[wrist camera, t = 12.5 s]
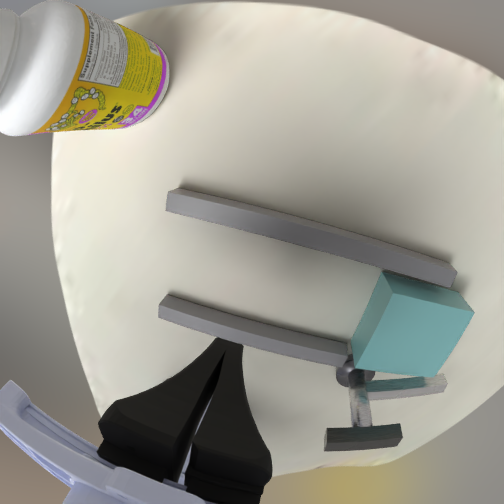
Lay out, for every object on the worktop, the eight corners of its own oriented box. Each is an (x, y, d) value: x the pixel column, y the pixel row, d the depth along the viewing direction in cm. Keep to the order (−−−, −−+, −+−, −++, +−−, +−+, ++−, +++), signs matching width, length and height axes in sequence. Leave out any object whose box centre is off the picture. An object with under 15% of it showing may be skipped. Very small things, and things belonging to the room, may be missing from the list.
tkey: (324, 381, 20) (323, 451, 14) (326, 369, 20) (327, 442, 14) (435, 374, 18) (456, 435, 12) (440, 363, 18) (464, 424, 12)
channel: (393, 364, 20) (397, 376, 18) (166, 307, 21) (158, 317, 20) (448, 263, 16) (457, 272, 15) (178, 187, 18) (167, 192, 16)
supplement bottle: (92, 132, 17) (-63, 157, 5) (101, 50, 14) (-42, 26, 3) (169, 127, 16) (-17, 136, 4) (180, 35, 14) (32, -47, 2)
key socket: (363, 383, 21) (364, 389, 20) (329, 377, 21) (330, 384, 20) (380, 357, 20) (382, 363, 19) (345, 350, 20) (346, 357, 19)
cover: (422, 351, 19) (433, 377, 16) (349, 339, 20) (354, 367, 17) (456, 290, 17) (474, 312, 14) (380, 269, 17) (393, 292, 15)
